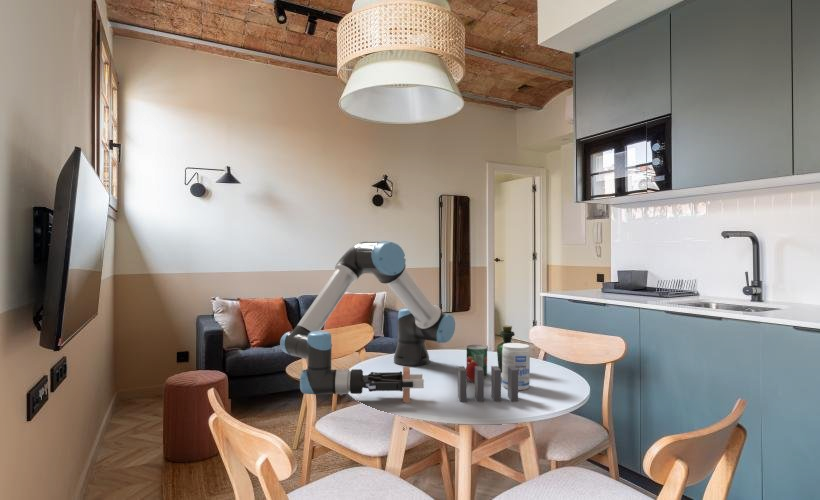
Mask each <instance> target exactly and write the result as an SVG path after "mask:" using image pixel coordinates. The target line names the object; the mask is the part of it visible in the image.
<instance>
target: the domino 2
mask: <svg viewBox="0 0 820 500" xmlns="http://www.w3.org/2000/svg"><path fill="white" fill-rule="evenodd" d="M484 384H485V378H484V370H483V369H482V367H481V366H475V382H474V398H475V400H476V402H477V403H484V400H485V398H484V395H485V394H484V393H485V392H484V391H485V388H484V387H485V385H484Z"/></svg>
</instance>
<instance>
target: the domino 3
mask: <svg viewBox="0 0 820 500" xmlns="http://www.w3.org/2000/svg"><path fill="white" fill-rule="evenodd" d="M490 367H491V371H490V372H491V374H490V375H491V378H490V379H491V381H490V383H491V384H490V389H491V391H490V398H492V399H493V402H495V403H496V402H497V403H498V402H502V393H501V392H502V373H501V370H500V369H499V367H498V365H494V366H493V365H491V366H490Z"/></svg>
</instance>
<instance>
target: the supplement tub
mask: <svg viewBox="0 0 820 500" xmlns="http://www.w3.org/2000/svg"><path fill="white" fill-rule="evenodd" d="M502 349H503V350H502V373H501V386H502V387H503V388H505V389H508V366H514V367H515V368H516V369H518V391H523V390H527V389H529V387H530V380H531V379H530V376H531V375H530V374H531V373H530V372H531V371H530V370H531V369H530V368H531V367H530V366H531V364H530V363H531V359H530V357H531V356H530V355H531V351H530V345H529V344H526V343H520V342H512V343H505V344H503V348H502Z"/></svg>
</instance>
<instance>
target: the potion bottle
mask: <svg viewBox="0 0 820 500" xmlns="http://www.w3.org/2000/svg"><path fill="white" fill-rule="evenodd" d="M512 329H513V326H512V325H502V330H501V331H500V333H499V336H501V337H502V342H500V343H498V344H497V346H496V352H497V353H496V354H497V355H496V356H497V366H498V367H499V369H500V370H501V374H502V350H503V349H502V348H503V344H505V343H513V342H512V338H513V337H515V332H514V331H512Z"/></svg>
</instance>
